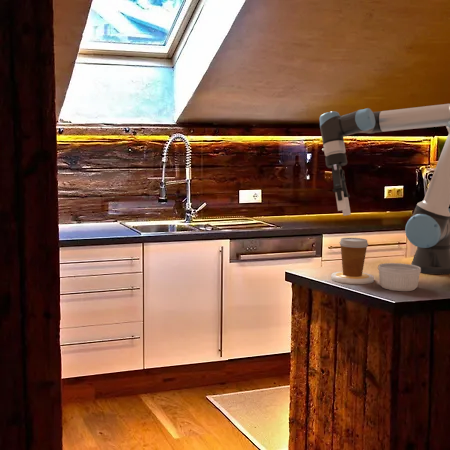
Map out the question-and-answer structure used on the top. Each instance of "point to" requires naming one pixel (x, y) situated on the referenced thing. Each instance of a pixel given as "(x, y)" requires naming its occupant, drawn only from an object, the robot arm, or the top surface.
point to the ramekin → (399, 276)
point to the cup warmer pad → (352, 278)
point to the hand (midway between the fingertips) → (344, 212)
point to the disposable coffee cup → (353, 256)
